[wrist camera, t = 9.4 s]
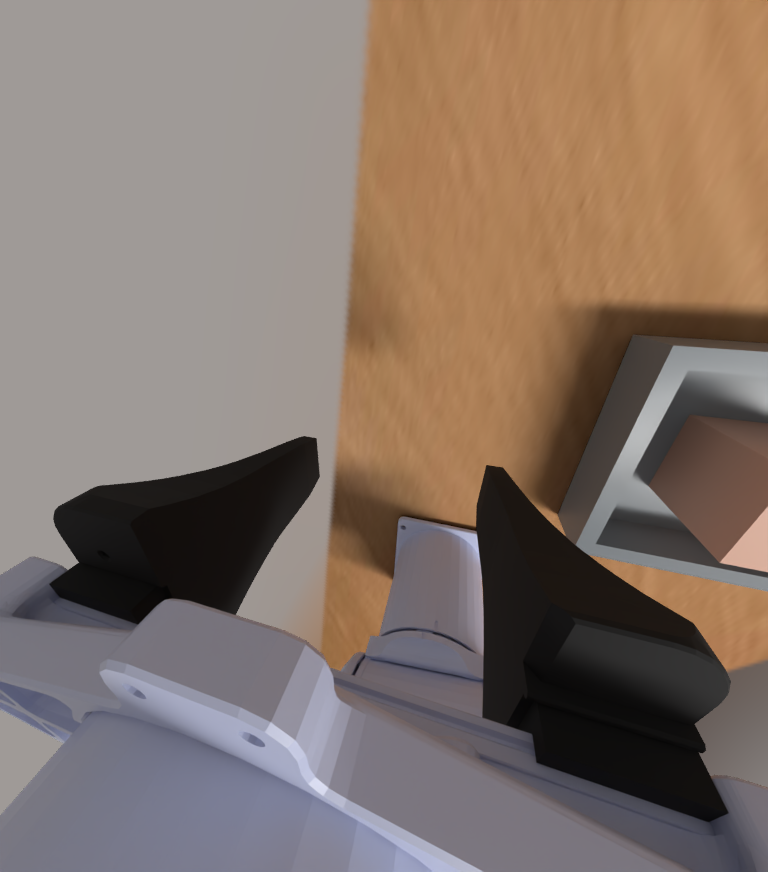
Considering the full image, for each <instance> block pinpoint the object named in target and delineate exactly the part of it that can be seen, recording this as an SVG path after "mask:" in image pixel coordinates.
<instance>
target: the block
mask: <svg viewBox="0 0 768 872" xmlns="http://www.w3.org/2000/svg"><path fill="white" fill-rule="evenodd" d="M649 487H650V488H651V490H652V491H653V492H654V493H655V494H656V495H657V496H658V497H659V498H660V499H661V500H662V501H663V502H664V504H665V505H666V506H667V507H668V508H669V509H670V510H671V511H672V512H673V513H674V514H675V515H676V516H677V518H678V519H679V520H680V521H681V522H682V523H683V524H684V525H685V526H686V527H687V528H688V529H689V530H690V532H691V533H692V534H693V535H694V536H695V537H696V538H697V539H698V540H699V541H700V542H701V543H702V544H703V546H704V547H705V548H706V549H707V550H708V551H709V552H710V553H711V554H712V555H713V556H714V557H715V558H716V560H717V561H718V562H719V563H723V564H728V565H733V566H738V567H744V568H749V569H754V570H759V571H764V572H768V423H760V422H751V421H742V420H733V419H724V418H715V417H706V416H697V415H689V417H688V418H687V420H686V422H685V423H684V425H683V427H682V429H681V430H680V432H679V434H678V436H677V437H676V439H675V441H674V442H673V444H672V446H671V448H670V449H669V451H668V453H667V455H666V456H665V458H664V460H663V461H662V463H661V465H660V467H659V468H658V470H657V472H656V473H655V475H654V477H653V479H652V480H651V482H650V484H649Z"/></svg>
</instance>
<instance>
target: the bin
mask: <svg viewBox="0 0 768 872" xmlns="http://www.w3.org/2000/svg"><path fill="white" fill-rule="evenodd" d="M689 415H697V416H706V417H715V418H724V419H733V420H742V421H751V422H760V423H768V343H757V342H741V341H725V340H710V339H694V338H678V337H663V336H647V335H633V336H632V339H631V341H630V343H629V346H628V348H627V351H626V353H625V355H624V358H623V360H622V363H621V365H620V367H619V370H618V372H617V374H616V377H615V379H614V382H613V384H612V386H611V389H610V391H609V394H608V396H607V398H606V401H605V403H604V405H603V408H602V410H601V413H600V415H599V417H598V420H597V422H596V425H595V427H594V429H593V432H592V434H591V436H590V439H589V441H588V444H587V446H586V448H585V451H584V453H583V456H582V458H581V460H580V463H579V465H578V467H577V470H576V472H575V475H574V477H573V479H572V482H571V484H570V487H569V489H568V491H567V494H566V496H565V498H564V501H563V503H562V506H561V508H560V510H559V513H558V517H559V520H560V522H561V524H562V527H563V529H564V532H565V534H566V537H567V538H568V539H569V540H570V541H571V542H572V543H574V544H575V545H576V546H577V547H578V548H580V549H581V550H582V551H584V552H585V553H586V554H587V555H592V556H597V557H602V558H607V559H612V560H617V561H622V562H626V563H631V564H636V565H641V566H646V567H651V568H656V569H661V570H666V571H670V572H675V573H680V574H685V575H690V576H695V577H700V578H705V579H710V580H715V581H719V582H724V583H729V584H734V585H739V586H744V587H749V588H754V589H759V590H763V591H768V572H764V571H759V570H754V569H749V568H744V567H738V566H733V565H728V564H723V563H719V562H718V561H717V560H716V558H715V557H714V556H713V555H712V554H711V553H710V552H709V551H708V550H707V549H706V548H705V547H704V546H703V544H702V543H701V542H700V541H699V540H698V539H697V538H696V537H695V536H694V535H693V534H692V533H691V532H690V530H689V529H688V528H687V527H686V526H685V525H684V524H683V523H682V522H681V521H680V520H679V519H678V518H677V516H676V515H675V514H674V513H673V512H672V511H671V510H670V509H669V508H668V507H667V506H666V505H665V504H664V502H663V501H662V500H661V499H660V498H659V497H658V496H657V495H656V494H655V493H654V492H653V491H652V490H651V488H650V487H649V484H650V482H651V480H652V479H653V477H654V475H655V473H656V472H657V470H658V468H659V467H660V465H661V463H662V461H663V460H664V458H665V456H666V455H667V453H668V451H669V449H670V448H671V446H672V444H673V442H674V441H675V439H676V437H677V436H678V434H679V432H680V430H681V429H682V427H683V425H684V423H685V422H686V420H687V418H688V417H689Z"/></svg>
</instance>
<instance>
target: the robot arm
mask: <svg viewBox="0 0 768 872" xmlns="http://www.w3.org/2000/svg"><path fill="white" fill-rule="evenodd" d="M319 477H320V475H319V463H318V451H317V439H316V438H311V437H306V436H303V437H299V438H296V439H294V440H291V441H288V442H286V443H283V444H281V445H278V446H276V447H273V448H271V449H268V450H266V451H264V452H261V453H258V454H255V455H253V456H250V457H247V458H245V459H242V460H239V461H236V462H233V463H230V464H227V465H223V466H220V467H216V468H212V469H209V470H205V471H200V472H196V473H191V474H186V475H182V476H176V477H171V478H165V479H158V480H152V481H144V482H135V483H126V484H114V485H102V486H97V487H95V488H93V489H90V490H88V491H87V492H85V493H83V494H81V495H79V496H77V497H75V498H73V499H72V500H70V501H68V502H66V503H64V504H62V505H60V506H58V508H57V509H56V510H55V512H54V523H55V526H56V528H57V530H58V532H59V533H60V535H61V537H62V538H63V540H64V541H65V542H66V544H67V545H68V547H69V548H70V550H71V551H72V553H73V554H74V556H75V557H76V559H77V560H78V562H79V563H78V564H76V565H75V566H73V567H72V568H71V569H69V570H67V569H66V568H64V567H63V566H61V565H59V564H57V563H53V562H50V561H47V560H44V559H41V558H38V557H29V558H28V559H26V560H24V561H23V562H21V563H19V564H18V565H16V566H14V567H13V568H11V569H10V570H8V571H7V572H5V573H3V574H1V575H0V710H2V711H4V712H6V713H8V714H10V715H12V716H14V717H15V718H17V719H19V720H21V721H23V722H25V723H27V724H29V725H30V726H32V727H34V728H36V729H38V730H40V731H42V732H43V733H45V734H47V735H49V736H51V737H53V738H54V739H56V740H58V741H60V742H62V743H64V744H63V745H62V746H61V747H60V748H59V749H58V751H57V752H56V753H55V754H54V755H53V756H52V757H51V759H50V760H49V761H48V762H47V763H46V764H45V765H44V766H43V768H42V769H41V770H40V771H39V772H38V773H37V775H36V776H35V777H34V778H33V779H32V780H31V781H30V782H29V783H28V785H27V786H26V787H25V788H24V789H23V790H22V791H21V792H20V794H19V795H18V796H17V797H16V798H15V799H14V800H13V802H12V803H11V804H10V805H9V806H8V807H7V808H6V809H5V811H4V812H3V813H2V814H1V815H0V872H768V788H767V787H764V786H761V785H758V784H755V783H752V782H749V781H745V780H742V779H739V778H735V777H730V776H722V775H719V776H718V775H714V776H710V775H709V773H708V771H707V769H706V767H705V765H704V763H703V761H702V759H701V757H700V755H699V753H698V752H700V753H703V752H705V751H706V748H705V743H704V742H703V740H702V738H701V736H700V734H699V732H698V730H697V728H696V727H695V725H694V724H695V723H696V722H697V721H699V720H700V719H701V718H703V717H704V716H705V715H707V714H708V713H709V712H710V711H712V710H713V709H714V708H716V707H717V706H718V705H719V704H720V703H721V702H722V701H723V700H724V699H725V698H726V696H727V695H728V693H729V689H730V683H731V681H730V678H729V676H728V674H727V672H726V670H725V668H724V667H723V665H722V664H721V662H720V661H719V659H718V658H717V657H716V655H715V654H714V652H713V651H712V649H711V648H710V646H709V645H708V643H707V642H706V641H705V639H704V638H703V636H702V635H701V633H700V632H699V630H698V629H697V628H696V626H695V625H694V624H693V623H692V622H690V621H689V620H687V619H685V618H684V617H682V616H680V615H679V614H677V613H675V612H674V611H672V610H670V609H668V608H667V607H665V606H663V605H662V604H660V603H658V602H657V601H655V600H653V599H652V598H650V597H648V596H647V595H645V594H643V593H642V592H640V591H639V590H637V589H636V588H634V587H633V586H631V585H630V584H628V583H627V582H625V581H624V580H622V579H621V578H619V577H618V576H616V575H615V574H613V573H612V572H610V571H609V570H608V569H606V568H605V567H603V566H602V565H601V564H599V563H598V562H597V561H595V560H594V559H593V558H591V557H590V556H589V555H587V554H586V553H585V552H584V551H582V550H581V549H580V548H578V547H577V546H576V545H575V544H574V543H572V542H571V541H570V540H569V539H568V538H567V537H566V536H564V535H563V534H562V533H561V532H560V531H559V530H558V529H557V528H555V527H554V526H553V525H552V524H551V523H550V522H549V521H548V520H547V519H546V518H545V517H544V516H543V515H542V514H541V513H540V512H539V511H538V509H537V508H536V507H535V506H534V505H533V504H532V503H531V502H530V501H529V499H528V498H527V497H526V496H525V495H524V494H523V492H522V491H521V490H520V489H519V487H518V486H517V485H516V484H515V482H514V481H513V480H512V479H511V477H510V476H509V475H508V473H507V472H506V471H505V470H504V468H502V467H495V466H489V465H486V469H485V473H484V478H483V482H482V486H481V490H480V494H479V498H478V503H477V515H476V530H477V531H473V530H468V529H463V528H458V527H453V526H449V525H444V524H439V523H434V522H429V521H424V520H419V519H414V518H409V517H403V516H402V517H400V518H399V521H398V531H397V543H396V556H395V569H394V577H393V581H392V585H391V589H390V593H389V597H388V601H387V606H386V610H385V614H384V618H383V622H382V626H381V630H380V634H379V636H370V639H369V643H368V646H367V650H366V653H363V652H357V653H355V654H354V655H353V656H352V657H351V659H350V660H349V661H348V662H347V663H346V664H345V665H344V667H343V668H342V670H341V671H339V670H336V669H333V668H330V667H329V665H328V663H327V661H326V659H325V657H324V655H323V654H322V653H321V652H319V651H318V650H317V649H316V648H314V647H313V646H312V645H311V644H310V643H309V642H307V641H306V640H304V639H302V638H300V637H297V636H295V635H293V634H291V633H289V632H287V631H285V630H281V629H278V628H275V627H272V626H268V625H265V624H262V623H259V622H256V621H253V620H249V619H246V618H243V617H240V616H237V615H236V613H237V611H238V609H239V607H240V605H241V603H242V601H243V599H244V597H245V595H246V593H247V591H248V589H249V588H250V586H251V584H252V582H253V580H254V578H255V576H256V575H257V573H258V571H259V569H260V567H261V566H262V564H263V562H264V560H265V559H266V557H267V555H268V554H269V552H270V550H271V548H272V547H273V545H274V543H275V542H276V540H277V539H278V537H279V536H280V534H281V533H282V532H283V530H284V529H285V528H286V526H287V525H288V524H289V522H290V521H291V520H292V518H293V517H294V516H295V514H296V513H297V512H298V510H299V509H300V508H301V506H302V505H303V504H304V502H305V501H306V499H307V498H308V497H309V495H310V494H311V492H312V490H313V488H314V487H315V484H316V482H317V481H318V479H319ZM403 526H405V527H403ZM482 583H483V595H482Z"/></svg>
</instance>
